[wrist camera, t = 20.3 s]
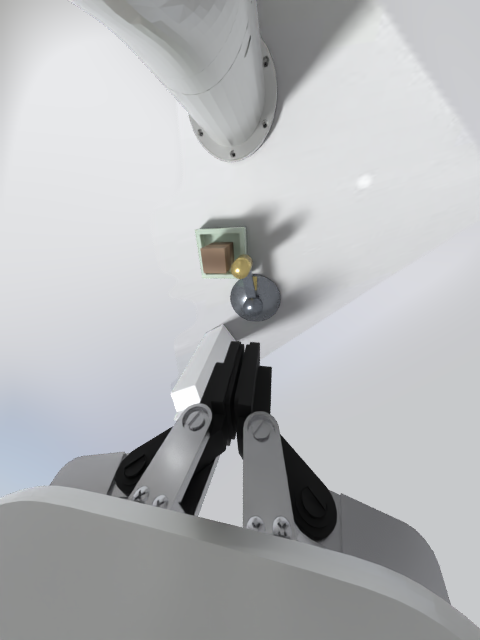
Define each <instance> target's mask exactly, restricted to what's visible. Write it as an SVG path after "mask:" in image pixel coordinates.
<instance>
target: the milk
mask: <svg viewBox="0 0 480 640" xmlns="http://www.w3.org/2000/svg"><path fill="white" fill-rule="evenodd" d="M231 341H236V340H235V339H234V338H233V336H232V335H231V334H230V332H229V331H228V330H227V328H226V327H225V326H224V324H223V325H221V326H219V327H217V328H215V329H213V330H211V331H209V332H207V333H205V335H204V337H203V339H202V340H201V342H200V344H199V345H198V347H197V349H196V351H195V352H194V354H193V356H192V357H191V359H190V361H189V363H188V364H187V366H186V368H185V370H184V371H183V373H182V375H181V376H180V378H179V380H178V382H177V383H176V385H175V387H174V388H173V390H172V392H171V396H172V399H173V402H174V405H175V408H176V410H177V413H176V415H175V417H174V420H178V418H179V417H180V415H181V414H182V412H183V411H184V410H185V409H186V408H187V407H189V406H191V405H193V404H198V403H200V401H201V398H202V396H203V393H204V391H205V388H206V386H207V383H208V381H209V378H210V376H211V373H212V371H213V368H214V366H215V364H216V363H217V362H220V363H224V360H225V357H226V354H227V351H228V348H229V345H230V343H231Z"/></svg>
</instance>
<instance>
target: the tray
mask: <svg viewBox="0 0 480 640" xmlns="http://www.w3.org/2000/svg"><path fill="white" fill-rule="evenodd" d="M195 234H196V240H197V247H198V253H199V259H200V266H201V272H202V278H214V279H238V278H236V277H234V276H233V275H232V273H231V268H230V269H229V271H228V272H227V273H204V271H203V264H202V257H201V250H200V248H203V247H205V246H207V245H209V244H211V243H213V242H233V247H234V261H235V260H236V259H237V258H238V257H239V256H240V255H242V254H246V255H247V241H246V227H226V228H204V229H196V230H195Z"/></svg>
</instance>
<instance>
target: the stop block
mask: <svg viewBox="0 0 480 640" xmlns="http://www.w3.org/2000/svg"><path fill="white" fill-rule="evenodd" d="M200 250H201V257H202V264H203V271H204V273H227V272H228V271H229V269H230V268H231V266H232V264H233V263H234V247H233V242H213V243H211V244H209V245H207V246H205V247H203V248H200Z"/></svg>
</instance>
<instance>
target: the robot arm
mask: <svg viewBox="0 0 480 640" xmlns="http://www.w3.org/2000/svg"><path fill="white" fill-rule="evenodd" d="M68 1H70V2H71V3H73V4H74V5H76V6H77V7H79V8H80V9H82V10H83V11H85V12H86V13H88V14H89V15H91V16H92V17H94V18H95V19H97V20H98V21H99V22H101V23H102V24H103V25H104V26H106V27H107V28H108V29H109V30H110V31H112V32H113V33H114V34H115V35H116V36H117V37H118V38H119V39H120V40H121V41H122V42H124V43H125V44H126V45H127V46H128V47H129V48H130V50H131V51H133V53H134V54H135V55H136V56H137V57H138V58H139V59H140V60H141V61H142V62H143V63H144V64H145V65H146V66H147V68H148V69H149V70H150V71H151V72H152V73H153V74H154V75H155V77H156V78H157V79H158V80H159V81H160V82H161V83H162V84H163V85H164V86H165V88H166V89H167V90H168V91H169V92H170V93H171V94H172V95H173V96H174V98H175V99H176V100H177V101H178V102H179V103H180V104H181V105H182V107H183V108H184V109H185V110H186V111H187V112H188V114H189V119H190V122H191V125H192V128H193V131H194V133H195V135H196V137H197V139H198V140H199V142H200V143H201V145H202V146H203V147H204V148H205V149H206V150H207V151H208V152H209V153H210V154H211V155H212V156H214V157H215V158H217V159H220V160H222V161H226V162H237V161H240V160H244V159H245V158H247V157H249V156H251V155H252V154H253V153H254V152H255V151H256V150H257V149H258V148H259V147H260V146H261V144H262V143H263V142H264V140H265V138H266V136H267V135H268V133H269V130H270V128H271V125H272V122H273V119H274V115H275V110H276V102H277V80H276V71H275V67H274V63H273V59H272V57H271V54H270V52H269V49H268V47H267V45H266V44H265V42H264V41H263V39H262V38H261V37H260V31H259V20H258V9H257V0H68ZM265 64H268V66H267V67H264V65H265ZM264 124H267V127H266V128H264V127H263V126H264ZM201 133H203V136H202V137H201ZM233 153H235V157H233ZM271 373H272V368H271V367H266V366H260V343H255V342H250V345H246V349H245V351H244V344H241V342H239V341H231V343H230V345H229V348H228V351H227V354H226V357H225V360H224V363H220V362H217V363H216V364H215V366H214V368H213V371H212V373H211V376H210V378H209V381H208V383H207V386H206V388H205V391H204V393H203V396H202V398H201V401H200V403H198V404H193V405H191V406H189V407H187V408H186V409H185V410H184V411H183V412H182V414H181V415H180V417H179V418H178V420H177V421H176V423H175V425H174V426H173V427H171V428H169V429H168V430H166V431H165V432H163V433H161V434H160V435H158V436H156V437H155V438H153V439H152V440H150V441H148V442H146V443H145V444H143V445H142V446H140V447H138V448H137V449H135V450H134V451H132V452H131V453H127V454H126V453H125V452H117V453H108V454H98V455H89V456H81V457H78V458H75V459H74V460H72V461H70V462H68V463H67V464H66V465H65V466H64V467H63V468H62V469H61V470H60V471H59V472H58V474H57V475H56V476H55V478H54V479H53V481H52V482H51V484H50V485H49V486H38V487H32V488H27V489H23V490H19V491H16V492H13V493H10V494H8V495H6V496H3V497H1V498H0V640H480V629H479V628H478V627H477V626H476V625H475V624H474V623H473V622H472V621H470V620H469V619H468V618H467V617H466V616H464V615H463V614H462V613H460V612H459V611H458V610H457V609H455V608H454V607H453V606H451V604H450V600H449V597H448V594H447V590H446V587H445V583H444V580H443V577H442V573H441V570H440V566H439V564H438V561H437V559H436V557H435V554H434V552H433V550H432V549H431V548H430V546H429V545H428V543H427V542H426V540H425V539H424V538H423V537H422V536H421V535H420V534H419V533H418V532H417V531H416V530H415V529H414V528H412V527H411V526H409V525H408V524H406V523H404V522H402V521H400V520H398V519H396V518H394V517H392V516H389V515H387V514H385V513H383V512H381V511H378V510H376V509H374V508H372V507H370V506H368V505H366V504H363V503H361V502H359V501H357V500H355V499H353V498H350V497H348V496H346V495H344V494H342V493H341V495H339V494H337V493H335V492H332V491H330V490H328V489H327V487H326V486H325V485H324V484H323V482H322V481H321V480H320V479H319V478H318V477H317V476H316V474H314V472H313V471H312V470H311V469H310V468H309V466H308V465H307V464H306V463H305V462H304V461H303V460H302V458H300V456H299V455H298V454H297V453H296V452H295V450H294V449H293V448H292V447H291V446H290V445H289V444H288V442H287V441H286V440H285V439H284V438H283V437H282V436H281V434H280V431H279V426H278V424H277V421H276V420H275V418H274V417H273V416H271V415H270V406H271ZM236 433H237V442H238V450H239V454H240V456H241V457H242V459H243V528H242V527H238V526H234V525H230V524H225V523H221V522H217V521H213V520H209V519H205V518H200V517H198V515H199V512H200V509H201V507H202V504H203V501H204V498H205V496H206V493H207V490H208V488H209V485H210V482H211V479H212V477H213V474H214V471H215V468H216V465H217V463H218V460H219V456H220V454H222V453H223V452H224V451H225V450H226V445H228V446H230V442H231V439H235V436H236Z"/></svg>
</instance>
